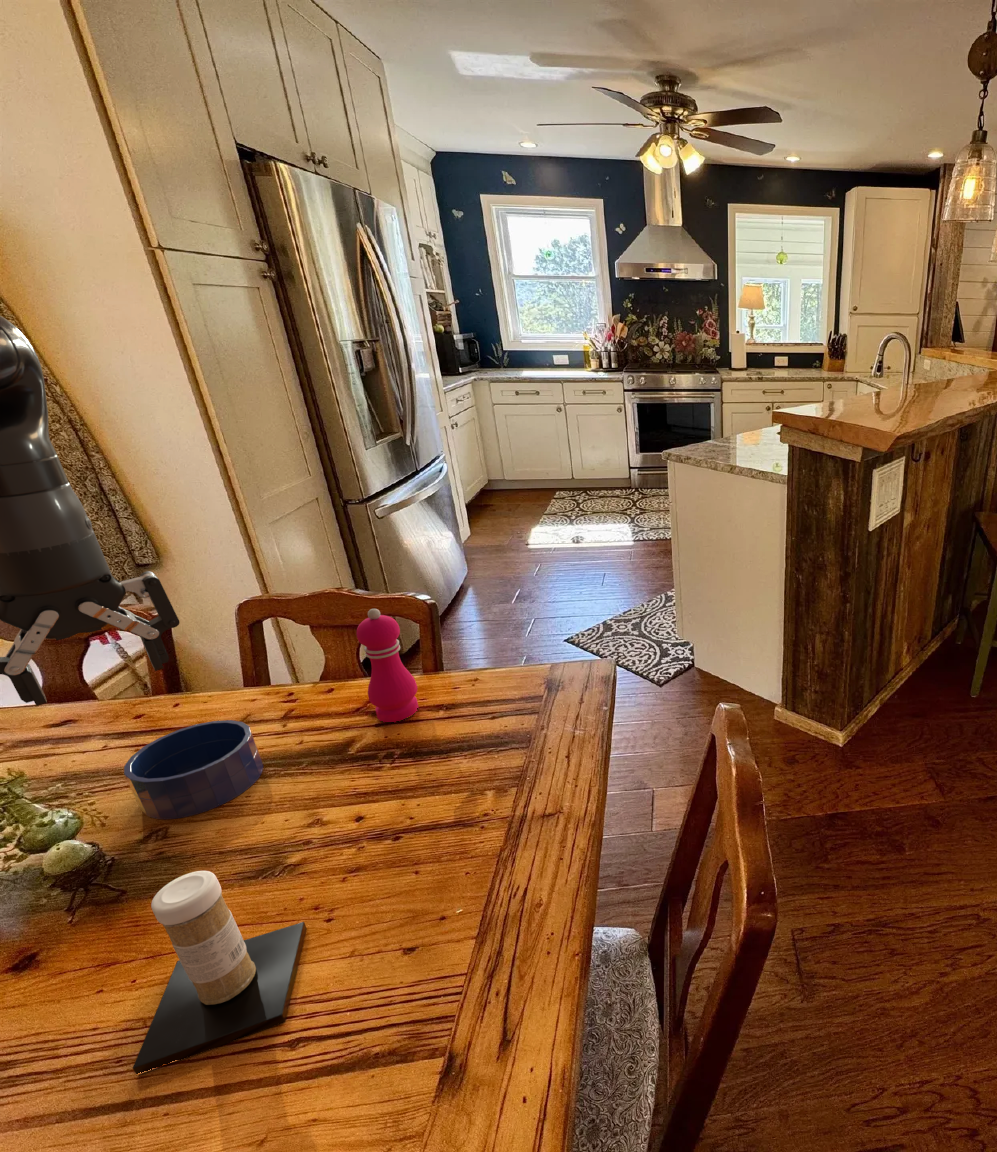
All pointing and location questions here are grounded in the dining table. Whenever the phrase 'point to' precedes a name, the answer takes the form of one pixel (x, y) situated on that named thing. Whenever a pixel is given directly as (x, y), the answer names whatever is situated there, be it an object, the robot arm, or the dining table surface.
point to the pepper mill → (387, 669)
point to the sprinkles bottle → (204, 936)
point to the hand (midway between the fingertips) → (102, 683)
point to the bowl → (194, 769)
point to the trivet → (224, 1003)
